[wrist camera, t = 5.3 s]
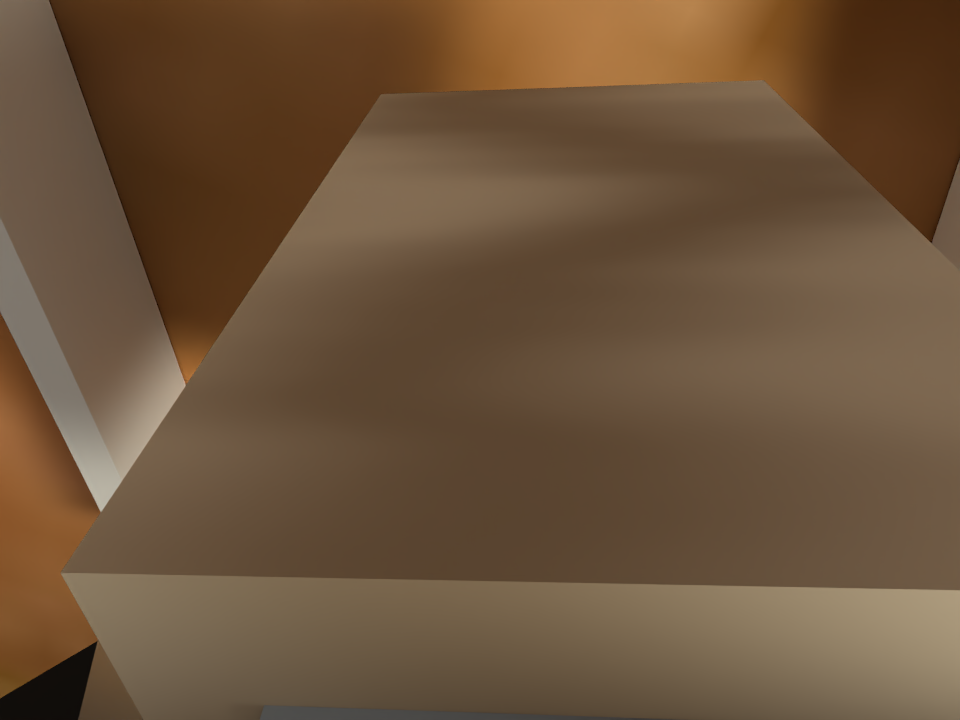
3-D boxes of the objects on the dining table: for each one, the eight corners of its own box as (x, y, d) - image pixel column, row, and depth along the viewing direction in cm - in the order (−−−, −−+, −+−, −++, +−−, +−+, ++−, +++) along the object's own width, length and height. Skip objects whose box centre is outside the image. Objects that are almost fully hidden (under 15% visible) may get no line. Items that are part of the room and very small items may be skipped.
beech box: (763, 80, 9) (1332, 633, 3) (693, 518, 14) (839, 1134, 7) (380, 94, 10) (40, 600, 3) (433, 514, 14) (340, 1094, 8)
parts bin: (1244, -500, 9) (1570, -655, 6) (870, 517, 20) (929, 629, 17) (-141, -380, 10) (-389, -464, 8) (206, 520, 21) (158, 626, 18)
